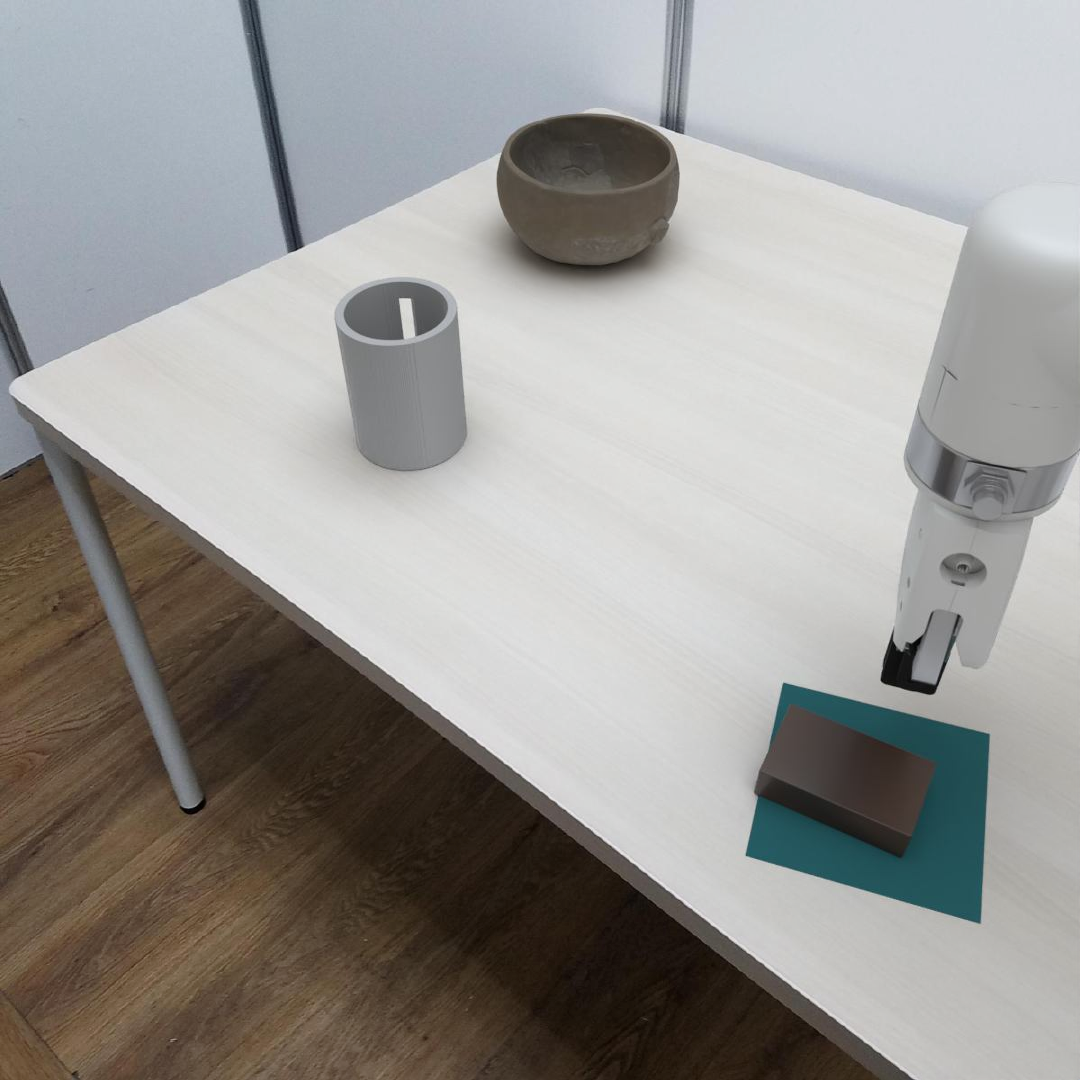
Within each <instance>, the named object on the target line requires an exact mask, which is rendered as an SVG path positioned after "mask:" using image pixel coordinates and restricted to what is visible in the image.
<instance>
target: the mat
mask: <svg viewBox="0 0 1080 1080" xmlns="http://www.w3.org/2000/svg"><path fill="white" fill-rule="evenodd" d="M781 686H782V687H781V690H780V695H779V699H778V703H777V704H778V705H777V708H776V714H775V718H774V723H773V727H772V732H771V736H770V741H769V745H768V749H767V750H768V751H769V749H770V746H771V744H772V742H773V740H774V738H775V736H776V734H777V732H778V729H779V727H780V725H781V723H782V721H783V719H784V717H785V715H786V712H787V710H788V708H789V706H790V704H793V705H796V706H798V707H800V708H803V709H805V710H808V711H810V712H813V713H815V714H818V715H820V716H823V717H825V718H827V719H830V720H832V721H835V722H837V723H840V724H842V725H845V726H847V727H850V728H852V729H854V730H857V731H859V732H862V733H864V734H867V735H869V736H872V737H874V738H877V739H879V740H881V741H884V742H886V743H889V744H891V745H894V746H896V747H899V748H901V749H904V750H906V751H908V752H911V753H913V754H916V755H918V756H921V757H923V758H926V759H928V760H931V761H933V762H935V763H936V767H935V770H934V773H933V776H932V779H931V782H930V785H929V788H928V791H927V794H926V797H925V799H924V802H923V805H922V808H921V811H920V814H919V817H918V820H917V823H916V826H915V829H914V832H913V835H912V838H911V840H910V842H909V844H908V846H907V848H906V850H905V852H904V855H903V857H902V858H899V857H897V856H895V855H893V854H890V853H888V852H886V851H884V850H881V849H879V848H877V847H875V846H872V845H870V844H868V843H866V842H863V841H861V840H859V839H857V838H854V837H852V836H850V835H848V834H845V833H843V832H841V831H839V830H836V829H834V828H832V827H830V826H827V825H825V824H823V823H821V822H818V821H816V820H814V819H812V818H809V817H807V816H805V815H802V814H800V813H798V812H796V811H793V810H791V809H789V808H787V807H784V806H782V805H780V804H778V803H775V802H773V801H771V800H769V799H766V798H764V797H762V796H760V795H758V796H757V801H756V806H755V810H754V814H753V818H752V824H751V829H750V833H749V837H748V842H747V847H746V852H745V857H748V858H752V859H755V860H759V861H761V862H765V863H768V864H772V865H776V866H778V867H782V868H786V869H789V870H793V871H797V872H800V873H803V874H806V875H811V876H813V877H817V878H821V879H824V880H828V881H831V882H835V883H838V884H842V885H845V886H848V887H852V888H855V889H859V890H862V891H865V892H869V893H871V894H872V893H873V894H876V895H879V896H883V897H886V898H890V899H893V900H897V901H899V902H904V903H907V904H911V905H914V906H917V907H920V908H924V909H928V910H931V911H934V912H937V913H941V914H945V915H948V916H952V917H955V918H959V919H962V920H965V921H969V922H972V923H976V924H981V922H982V906H983V905H982V903H983V881H984V864H985V844H986V843H985V841H986V821H987V820H986V819H987V803H988V802H987V800H988V779H989V776H988V775H989V756H990V738H991V735H990V733H987V732H984V731H979V730H975V729H971V728H968V727H964V726H960V725H955V724H952V723H947V722H944V721H939V720H936V719H931V718H927V717H923V716H920V715H915V714H912V713H907V712H903V711H899V710H896V709H892V708H887V707H884V706H879V705H874V704H873V703H872V704H871V703H867V702H863V701H859V700H856V699H852V698H847V697H844V696H839V695H836V694H831V693H827V692H824V691H819V690H815V689H811V688H807V687H804V686H799V685H795V684H791V683H787V682H782V685H781ZM768 751H767V752H768Z"/></svg>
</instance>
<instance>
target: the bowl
mask: <svg viewBox="0 0 1080 1080" xmlns="http://www.w3.org/2000/svg"><path fill="white" fill-rule="evenodd" d="M680 176H681V171H680V165H679V160H678V155H677V152H676V149H675V147H674V144H673V143H672V141H670V140H669V138H667V137H666V136H665V135H664V134H663V133H662V132H660V131H659V130H658V129H655V128H653V127H651V126H650V125H647V124H645V123H643V122H640V121H636V120H634V119H632V118H628V117H624V116H621V115H614V114H607V113H606V114H605V113H589V112H588V113H587V112H585V113H584V112H583V113H571V114H562V115H555V116H551V117H547V118H543V119H541V120H536V121H533V122H529V123H527V124H525V125H523V126H521V127H520V128H518V129H516V130H515V131H514V132H513V133H511V134H510V135H509V137H508V139H507V140H506V142H505V144H504V146H503V148H502V151H501V154H500V157H499V160H498V165H497V169H496V191H497V199H498V202H499V206H500V208H501V212H502V214H503V216H504V218H505V220H506V222H507V223H508V226H509V227H510V228H511V229H512V231H513V233H515V235H516V236H517V237H518V238H519V240H521V241H522V242H523V244H525V245H526V246H527V247H528V248H529V249H531V250H532V251H533V252H535V253H536V254H537V255H540V256H541V257H544V258H545V259H548V260H551V261H553V262H557V263H561V264H569V265H577V266H604V265H609V264H613V263H618V262H621V261H623V260H625V259H630V258H632V257H634V256H635V255H637V254H638V253H640V252H642V251H643V250H644V249H645V248H647V247H648V246H649V245H650V244H652V245H655V244H659V243H661V242H662V240H663V239H664V238H665V237H666V235H667V233H668V231H669V228H670V223H669V221H670V219H671V218H672V216H673V215H674V212H675V209H676V207H677V204H678V201H679V200H678V199H679V189H680V179H681V178H680Z"/></svg>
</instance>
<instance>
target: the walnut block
mask: <svg viewBox="0 0 1080 1080" xmlns="http://www.w3.org/2000/svg"><path fill="white" fill-rule="evenodd" d="M768 750H769V751H767V752H766V755H765V756H764V757H765V758H764V759H763V762H762V764H761V765H760V767H759V771H758V773H757V778H756V781H755V786H754V789H753V793H754V794H755V795H756V796H757V795H758V796H759V795H760V796H762V797H764V798H766V799H769V800H771V801H773V802H775V803H778V804H780V805H782V806H784V807H787V808H789V809H791V810H793V811H796V812H798V813H800V814H802V815H805V816H807V817H809V818H812V819H814V820H816V821H818V822H821V823H823V824H825V825H827V826H830V827H832V828H834V829H836V830H839V831H841V832H843V833H845V834H848V835H850V836H852V837H854V838H857V839H859V840H861V841H863V842H866V843H868V844H870V845H872V846H875V847H877V848H879V849H881V850H884V851H886V852H888V853H890V854H893V855H895V856H897V857H899V858H902V857H903V855H904V852H905V850H906V848H907V846H908V844H909V842H910V840H911V838H912V835H913V832H914V829H915V826H916V823H917V820H918V817H919V814H920V811H921V808H922V805H923V802H924V799H925V797H926V794H927V791H928V788H929V785H930V782H931V779H932V776H933V773H934V770H935V767H936V763H935V762H933V761H931V760H928V759H926V758H923V757H921V756H918V755H916V754H913V753H911V752H908V751H906V750H904V749H901V748H899V747H896V746H894V745H891V744H889V743H886V742H884V741H881V740H879V739H877V738H874V737H872V736H869V735H867V734H864V733H862V732H859V731H857V730H854V729H852V728H850V727H847V726H845V725H842V724H840V723H837V722H835V721H832V720H830V719H827V718H825V717H823V716H820V715H818V714H815V713H813V712H810V711H808V710H805V709H803V708H800V707H798V706H796V705H793V704H790V706H789V708H788V710H787V712H786V715H785V717H784V719H783V721H782V723H781V725H780V727H779V729H778V732H777V734H776V736H775V738H774V740H773V742H772V744H771V746H770V749H769V748H768Z"/></svg>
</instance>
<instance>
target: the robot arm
mask: <svg viewBox="0 0 1080 1080" xmlns="http://www.w3.org/2000/svg"><path fill="white" fill-rule="evenodd" d="M1079 456H1080V184H1078V183H1070V182H1059V181H1044V182H1042V181H1040V182H1033V183H1032V182H1031V183H1025V184H1020V185H1018V186H1015V187H1010V188H1009V189H1006V190H1003V191H1002V192H999V193H997V194H995V195H994V196H993V197H992V198H989V200H988V201H986V202H985V203H984V204H983V205H982V206H981V207H980V208H979V209H978V210H977V212H976V214H975V215H974V216H973V218H972V220H971V221H970V223H969V225H968V228H967V230H966V234H965V236H964V239H963V242H962V245H961V248H960V252H959V256H958V259H957V263H956V266H955V270H954V273H953V276H952V280H951V284H950V288H949V292H948V295H947V299H946V303H945V306H944V310H943V313H942V317H941V320H940V324H939V328H938V331H937V335H936V339H935V342H934V346H933V349H932V352H931V356H930V359H929V363H928V366H927V370H926V373H925V377H924V380H923V385H922V388H921V392H920V396H919V399H918V401H917V405H916V409H915V413H914V416H913V419H912V423H911V427H910V430H909V434H908V438H907V442H906V445H905V448H904V452H903V465H904V470H905V472H906V474H907V476H908V479H910V481H911V483H912V484H913V485H914V486H915V488H917V492H916V496H915V500H914V503H913V507H912V509H911V515H910V518H909V523H908V528H907V532H906V537H905V542H904V548H903V553H902V558H901V565H900V573H899V579H898V580H899V581H898V589H897V598H896V607H895V618H894V626H893V628H892V632H891V633H890V637H889V641H888V644H887V647H886V649H885V650H886V651H885V653H884V656H883V659H882V665H881V666H882V667H881V673H880V682H881V684H883V685H885V686H889V687H894V688H898V689H901V690H905V691H909V692H915V693H918V694H922V695H926V696H933V695H935V694H936V693H937V690H938V689H939V688H938V687H939V685H940V682H941V680H942V677H943V675H944V672H945V670H946V667H947V664H948V663H949V659H950V657H951V654H952V651H953V648H954V646H955V645H956V649H957V653H958V654H957V655H958V659H959V661H960V664H961V666H962V667H964V668H968V669H969V668H970V669H973V670H979V669H981V668H982V667H984V666H985V665H986V664H987V663H988V661H989V658H990V656H991V653H992V649H993V647H994V644H995V642H996V639H997V636H998V634H999V630H1000V628H1001V625H1002V621H1003V619H1004V617H1005V613H1006V612H1007V608H1008V605H1009V603H1010V599H1011V597H1012V594H1013V591H1014V589H1015V585H1016V582H1017V580H1018V577H1019V574H1020V570H1021V567H1022V564H1023V560H1024V557H1025V553H1026V551H1027V547H1028V543H1029V538H1030V535H1031V531H1032V526H1033V523H1034V519H1035V518H1036V517H1038V516H1040V515H1043V514H1044V513H1046V512H1048V511H1050V510H1051V509H1052V508H1053V507H1055V506H1056V505H1057V503H1058V502H1059V500H1060V499H1061V497H1062V495H1063V493H1064V490H1065V487H1066V486H1067V484H1068V481H1069V479H1070V477H1071V475H1072V472H1073V469H1074V467H1075V465H1076V463H1077V460H1078V458H1079Z"/></svg>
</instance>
